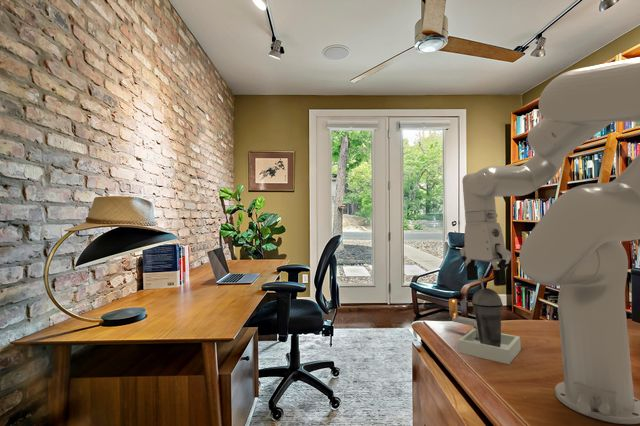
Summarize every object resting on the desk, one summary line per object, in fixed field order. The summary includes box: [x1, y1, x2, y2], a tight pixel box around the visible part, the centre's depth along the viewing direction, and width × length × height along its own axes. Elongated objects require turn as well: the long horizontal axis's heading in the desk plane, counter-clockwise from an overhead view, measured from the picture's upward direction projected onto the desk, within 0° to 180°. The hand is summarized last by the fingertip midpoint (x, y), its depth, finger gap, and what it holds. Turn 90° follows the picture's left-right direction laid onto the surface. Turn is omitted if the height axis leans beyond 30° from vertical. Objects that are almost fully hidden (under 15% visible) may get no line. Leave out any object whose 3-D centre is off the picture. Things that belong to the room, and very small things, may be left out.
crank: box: [448, 298, 478, 329], centre depth 94 cm, size 13×5×7 cm, turn 35°
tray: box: [458, 328, 522, 365], centre depth 82 cm, size 12×12×3 cm
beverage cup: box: [471, 271, 503, 347], centre depth 82 cm, size 7×7×20 cm
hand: (485, 282), depth 83 cm, fingers open, 9 cm apart
